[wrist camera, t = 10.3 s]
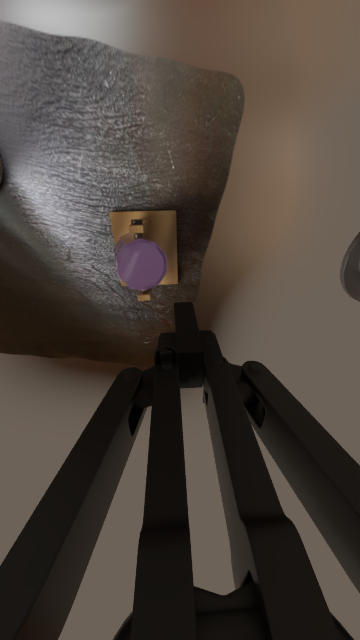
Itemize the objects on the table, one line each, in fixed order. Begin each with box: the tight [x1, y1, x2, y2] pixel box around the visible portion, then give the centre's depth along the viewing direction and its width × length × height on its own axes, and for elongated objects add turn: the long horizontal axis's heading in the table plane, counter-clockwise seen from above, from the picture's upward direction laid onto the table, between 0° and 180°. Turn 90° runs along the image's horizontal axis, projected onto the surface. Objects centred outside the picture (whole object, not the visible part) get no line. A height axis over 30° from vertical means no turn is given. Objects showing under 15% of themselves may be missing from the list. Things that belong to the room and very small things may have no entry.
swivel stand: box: [110, 210, 178, 302], centre depth 37 cm, size 12×14×12 cm
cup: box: [114, 233, 167, 292], centre depth 36 cm, size 8×9×9 cm
